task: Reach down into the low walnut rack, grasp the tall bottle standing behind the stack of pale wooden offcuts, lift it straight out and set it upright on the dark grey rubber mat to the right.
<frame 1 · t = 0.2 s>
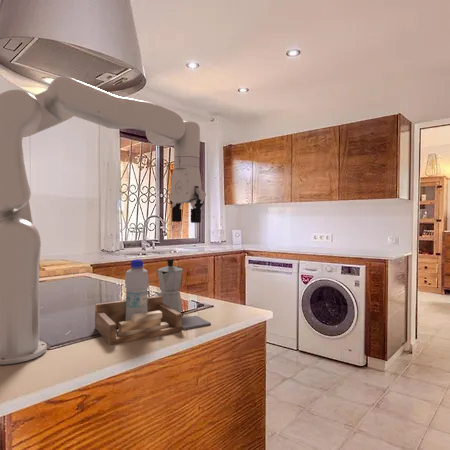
hand: (185, 222, 106), 31 cm above the counter, fingers open, 9 cm apart
offcut stack: (143, 334, 97), resting in rack
mat: (190, 323, 107), on the counter
bottle: (136, 329, 102), resting in rack
coffee maker: (170, 311, 120), on the counter
rack: (138, 329, 101), on the counter
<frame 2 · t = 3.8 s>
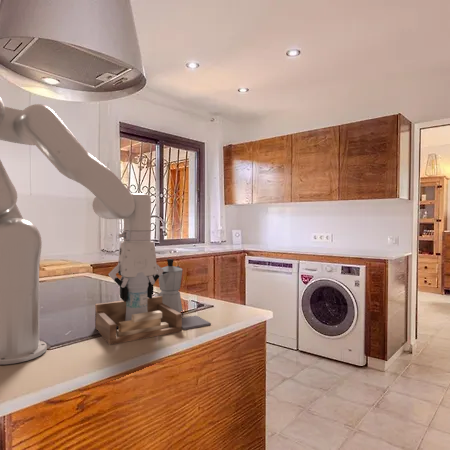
hand: (136, 298, 102), 9 cm above the counter, fingers closed on bottle, 6 cm apart
bottle: (136, 329, 102), resting in rack, touching gripper
everything else where it was.
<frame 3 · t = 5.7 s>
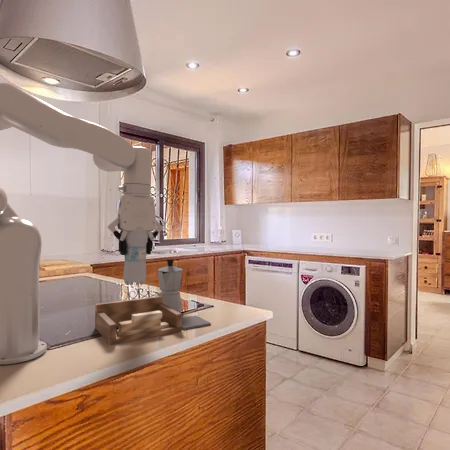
hand: (135, 253, 101), 22 cm above the counter, fingers closed on bottle, 6 cm apart
bottle: (134, 285, 101), point 13 cm above the counter, touching gripper
everything else where it was.
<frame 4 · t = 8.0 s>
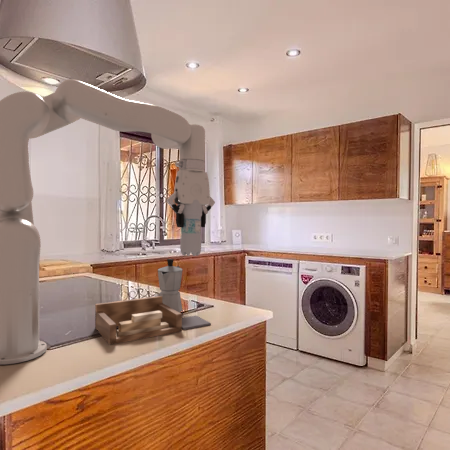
hand: (191, 226, 106), 29 cm above the counter, fingers closed on bottle, 6 cm apart
bottle: (190, 255, 107), point 21 cm above the counter, touching gripper
everything else where it was.
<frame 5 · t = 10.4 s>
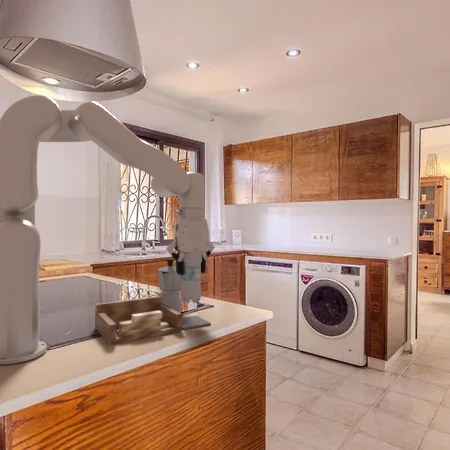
hand: (191, 272, 107), 15 cm above the counter, fingers closed on bottle, 6 cm apart
bottle: (190, 302, 107), point 6 cm above the counter, touching gripper
everything else where it was.
when the fingers open (10 cm above the counter, at t = 12.5 s): bottle stays where it is, resting on mat.
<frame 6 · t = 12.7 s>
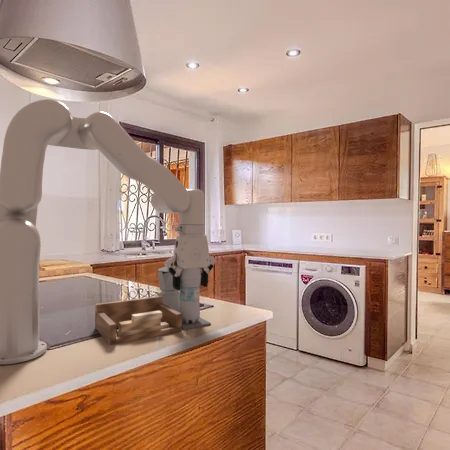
hand: (190, 287, 107), 11 cm above the counter, fingers open, 8 cm apart
bottle: (189, 322, 107), resting on mat
everything else where it was.
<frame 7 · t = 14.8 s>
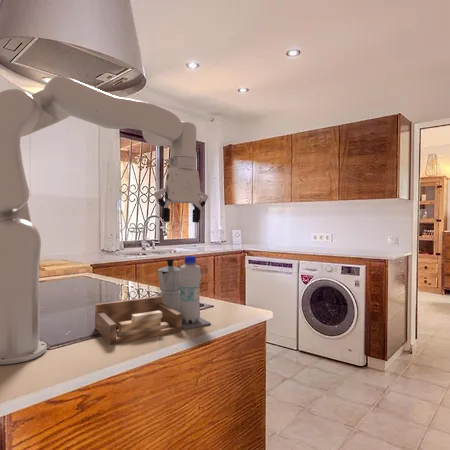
hand: (181, 222, 106), 31 cm above the counter, fingers open, 9 cm apart
nothing on the counter moved.
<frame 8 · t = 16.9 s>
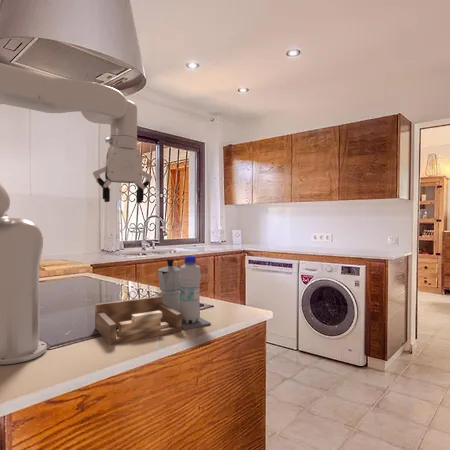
hand: (123, 202, 105), 36 cm above the counter, fingers open, 9 cm apart
nothing on the counter moved.
at the end: bottle inside the target area on the mat (0.3 cm from its centre), point 0.4 cm above the mat's base; bottle tilted 0°; the gripper is holding nothing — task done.
